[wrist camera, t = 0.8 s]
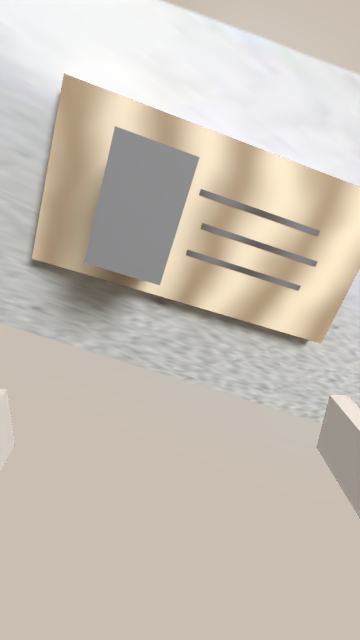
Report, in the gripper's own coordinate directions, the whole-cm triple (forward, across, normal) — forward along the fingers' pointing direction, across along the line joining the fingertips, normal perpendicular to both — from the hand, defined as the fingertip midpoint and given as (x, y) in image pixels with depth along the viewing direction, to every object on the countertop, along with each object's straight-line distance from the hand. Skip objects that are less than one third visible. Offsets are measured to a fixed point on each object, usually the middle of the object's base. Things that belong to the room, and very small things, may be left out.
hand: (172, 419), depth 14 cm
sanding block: (+18, -2, +7) cm, 20 cm away
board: (+20, +4, +6) cm, 21 cm away
